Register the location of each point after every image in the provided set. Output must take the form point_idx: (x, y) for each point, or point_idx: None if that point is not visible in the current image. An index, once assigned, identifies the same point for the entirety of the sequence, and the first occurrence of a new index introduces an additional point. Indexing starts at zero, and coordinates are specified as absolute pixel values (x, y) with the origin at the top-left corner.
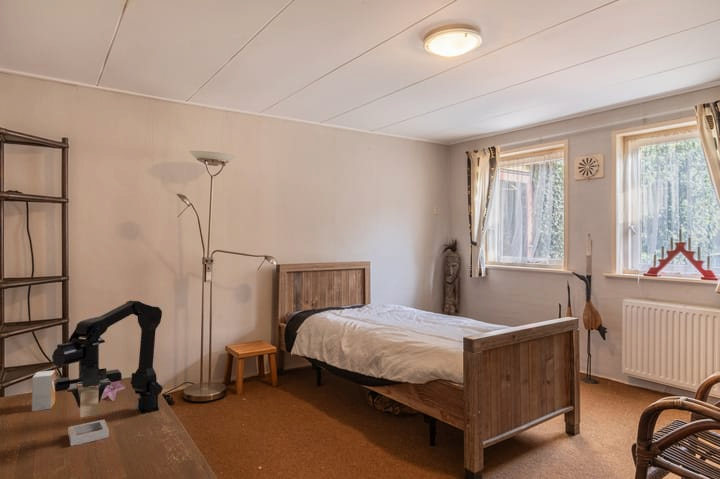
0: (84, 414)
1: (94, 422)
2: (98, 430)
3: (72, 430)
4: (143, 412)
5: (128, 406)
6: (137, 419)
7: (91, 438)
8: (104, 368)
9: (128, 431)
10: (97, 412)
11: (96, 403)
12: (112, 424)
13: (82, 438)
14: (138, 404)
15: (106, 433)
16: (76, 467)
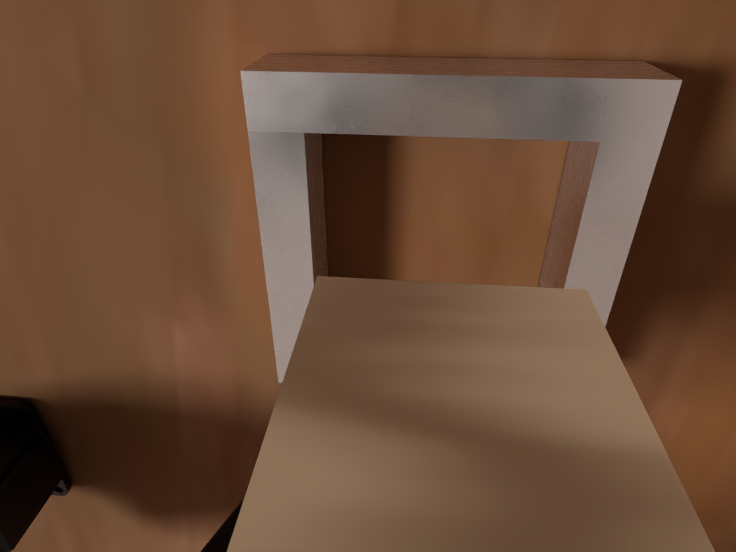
0: (536, 309)
1: None
2: (353, 129)
3: None
4: (11, 403)
5: (141, 544)
6: (44, 321)
7: (438, 61)
8: None
9: (80, 89)
10: (327, 290)
11: (312, 423)
12: (232, 343)
13: (537, 68)
14: (15, 486)
15: (277, 63)
16: None
